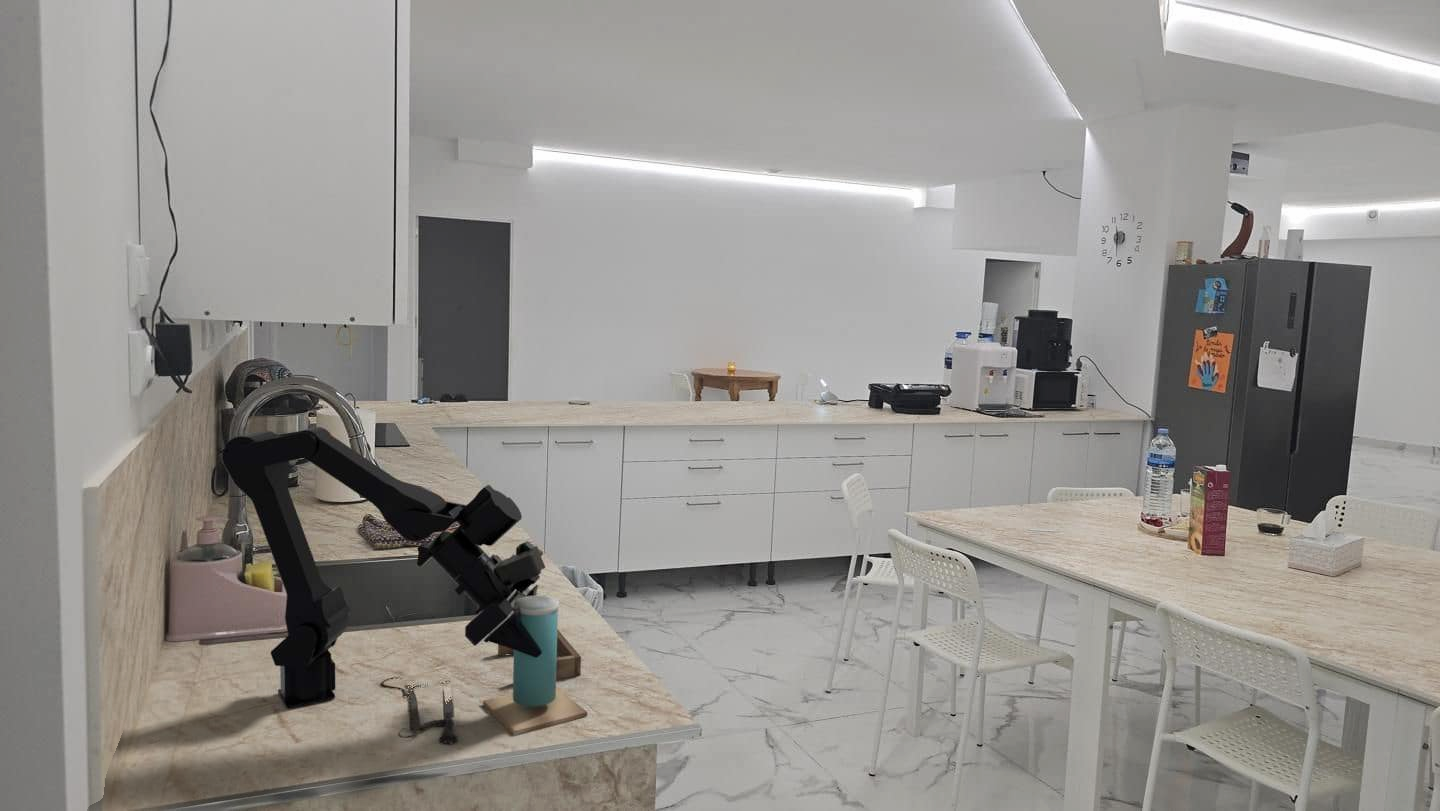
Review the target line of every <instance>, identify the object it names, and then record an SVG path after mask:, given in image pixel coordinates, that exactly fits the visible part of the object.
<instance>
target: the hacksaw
mask: <svg viewBox="0 0 1440 811" xmlns="http://www.w3.org/2000/svg"><path fill="white" fill-rule="evenodd" d="M393 678H396V679H395V680H398V679H397V678H400V679H399V680H402V679H401V678H402V677H396V676H395V677H390V678H385V679H384V680H382V681H381V683H380V685H382V686H381V687H383V688H386V687H390V688H389V689H392V688H398V689H397V690H399V689H402V693H403V692H404V694H403V695H404V696H406V695H407V697H408V696H409V699H408V701H409V700H410V701H409V702H408V704H410V706H409V707H408V708H410V709H409V710H408V711H410V712H409V730H410V731H412V732H414V734H413V733H412V734H411V735H407V736H406V735H405V736H404V735H401V734H400V733H401V732H403V731H404V730H405V727H404V728H403V729H401V730H400V731H399V732H398V737H400V738H403V739H411V738H414V737H417V736H418V734H419V733H420V732H422V731H425V730H426V729H429V728H430V727H435V726H436V727H437V726H444V730H443V733H442V734H441V735H440V736H439V737H438V741H439V742H440V744H441V745H444V744H446V745H452V744H456V743H457V742H458V735H457V734H455V729H454V725H455V723H454V722H455V721H454V718H455V713H454V701H453V700H454V699H453V698H452V699H451V700H449V699H448V700H449V702H448V701H446V702H447V704H446V702H445V703H444V701H445V700H444V699H443V703H444V704H443V705H444V716H445V719H434V720H431V721H426V722H424V723H422V724H421V723H420V722H421V721H420V715H419V706H418V705H419V704H418V701H417V700H418V699H417V696H416V693H414V692H415V690H414V689H416V688H415V687H419V686H420V687H421V685H422V684H420V685H419V684H410V685H407V684H405V685H404V688H405V687H407V689H408V691H407V690H406V689H404V688H403V687H402V688H401V687H398V686H391V685H387V684H385V681H386V682H387V681H390V680H389V679H391V680H394V679H393ZM447 681H448V680H447ZM447 681H446V682H447ZM438 683H439V682H438ZM442 683H443V682H442ZM426 684H427V685H428V683H426ZM406 685H407V686H406ZM411 685H413V686H414V685H416V686H414V687H413V688H411V687H412V686H411ZM408 686H409V688H408ZM410 686H411V687H410ZM425 686H426V685H425ZM411 690H412V691H411ZM407 692H408V693H409V694H407ZM404 696H403V697H404ZM450 698H451V697H450ZM451 743H452V744H451Z"/></svg>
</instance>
